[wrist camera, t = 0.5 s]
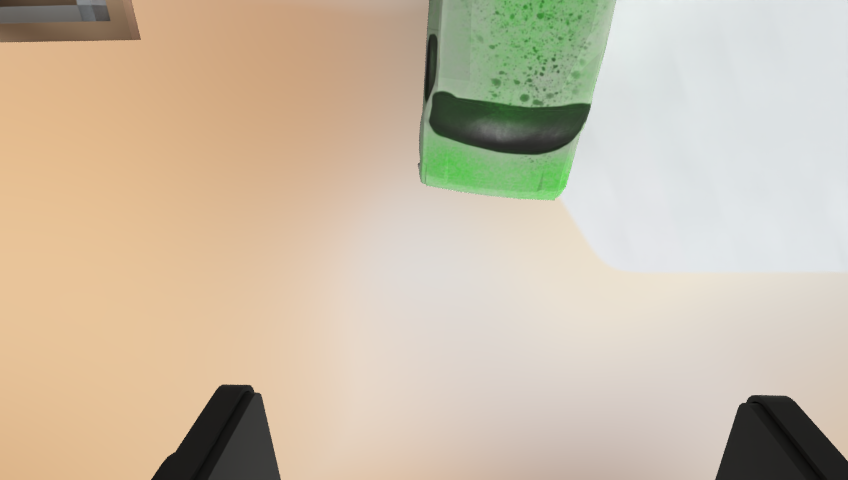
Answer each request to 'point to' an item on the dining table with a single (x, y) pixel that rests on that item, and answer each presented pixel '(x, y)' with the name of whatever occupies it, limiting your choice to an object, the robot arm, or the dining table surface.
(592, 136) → the dining table surface
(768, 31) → the dining table surface
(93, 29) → the board
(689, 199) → the dining table surface
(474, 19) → the toy car
